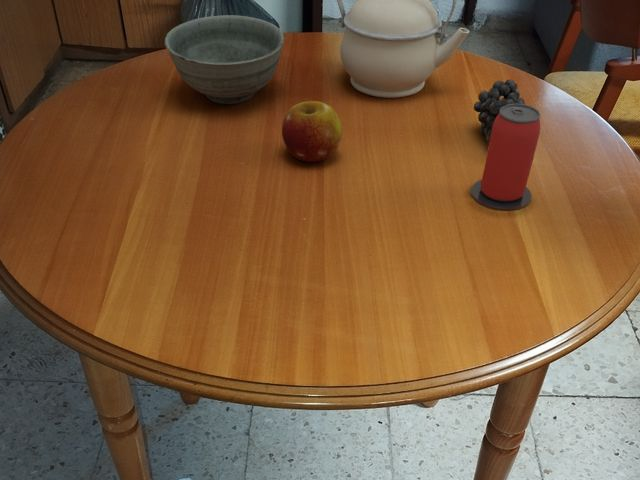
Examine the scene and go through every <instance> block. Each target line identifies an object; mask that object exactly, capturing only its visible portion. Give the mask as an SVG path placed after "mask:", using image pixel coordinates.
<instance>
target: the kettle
mask: <svg viewBox="0 0 640 480" xmlns="http://www.w3.org/2000/svg"><path fill="white" fill-rule="evenodd" d="M336 2H337V5H338V9H339V13H340V15H341V17H338V19H337V21H338V23H339V24H340V23H341V26H340V27H341V29H344V31H343V34H342V38H341V43H340V51H339V53H340V60H341V63H342V66H343V68H344V70H345V71H346V72H347V74H348V75H349V76H350V83H351V85H352V87H353V88H354V89H355V90H357V91H359V92H361V93H362V94H365V95H368V96H371V97H375V98H383V99H396V98H397V99H398V98H405V97H410V96H413V95H415V94H417V93H419V92H420V91H421V90H423V88H424V87H425V85H426V84H425V83H426V81H427V79H428V78H429V77H430V76H431V75H432V74H433V73H434V72H435V71H436V70H437V69H438V68H440V67H441V66H442V65H444V64H445V63H446V62H447V61H449V60H450V59H451V58H452V56H453V55H455V53H456V51H457V50H458V49H459V47H460V46H461V45H462V43H463V42H464V40H465V39H466V38H467V36H468V35H469V33H470V30H469V29H467V28H465V27H459V28H458V29H457V30H456V31H455V33H454V34H453V35H452V36H451V37H449V35H448V33H445V30H446V27H447V26H448V23H449V22H450V20H451V18H452V15H453V14H454V12H455V9H456V4H457V0H452V6H451V9H450V12H449V14H448V17H447V18H446V21H445V22H444V24H443V23H442V19H441V18H440V17H439V16H438V13H437V10H436V7H435V6H434V4H433V2H431V0H355V1H354V2H353V3H352V5H351V7H350V9H349V11H348V12H346V10H345V7H344V3H343V0H336ZM442 25H443V26H442ZM440 30H441V31H440ZM439 31H440V32H439ZM448 38H449V39H448ZM444 40H446V41H444Z"/></svg>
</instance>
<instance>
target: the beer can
mask: <svg viewBox="0 0 640 480" xmlns="http://www.w3.org/2000/svg"><path fill="white" fill-rule="evenodd" d="M540 118H541V113H540V111H539V110H538V109H537V108H536V107H534V106H531V105H528V104H526V103H525V104H508V105H505V106H503V107H502V108H501V109H500V111H499V114H498V115H497V117H496V119H495V121H494V123H493V127H492V132H491V137H490V142H488V147H487V153H486V157H485V163H484V167H483V173H482V178H481V180H482V182H481V190H482V192H483V193H484V194H485V195H486V196H487V197H489V198H490V199H493V200H496V201H502V202H510V201H514V200H517V199H519V198H521V197H522V195H523V194H524V193H525V189H526V187H527V185H528V181H529V176H530V172H531V169H532V166H533V160H534V157H535V153H536V150H537V146H538V142H539V137H540V134H541V119H540Z"/></svg>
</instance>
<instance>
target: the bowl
mask: <svg viewBox="0 0 640 480" xmlns="http://www.w3.org/2000/svg"><path fill="white" fill-rule="evenodd" d="M284 44H285V36H284V33H283V31H282V30H281V29H280V28H279V27H278V26H276V25H275V24H274V23H271V22H269V21H267V20H264V19H259V18H256V17H252V16H251V17H250V16H245V15H234V14H232V15H229V14H228V15H223V14H220V15H211V16H210V15H209V16H204V17H198V18H194V19H192V20H188V21H186V22H182V23H180V24H178V25H177V26H175V27H173V28H171V30H170V31H168V32H167V34H166V36H165V38H164V46H165V48H166V50H167V51H168V53H169V56H170V59H171V60H172V62H173V64H174V66H175V68H176V70H177V73H178V74H179V76H180V77H181V79H182V80H183V81H184V82H185V84H187V85H188V86H189V87H191V88H192V89H193V90H194V91H197V92H198V93H201V94H203V95H205V97H206V98H207V99H208V100H210V101H211V102H214V103H218V104H227V105H232V104H240V103H244V102H246V101H248V100H250V99H251V98H253V97H254V95H255V93H256V92H258V91H259V90H261V89H262V88H264V87H265V86H266V85H267V84H269V82H270V81H271V80H272V78H273V76H274V75H275V73H276V71H277V69H278V65H279V61H280V58H281V57H280V56H281V53H282V49H283V46H284Z"/></svg>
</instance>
